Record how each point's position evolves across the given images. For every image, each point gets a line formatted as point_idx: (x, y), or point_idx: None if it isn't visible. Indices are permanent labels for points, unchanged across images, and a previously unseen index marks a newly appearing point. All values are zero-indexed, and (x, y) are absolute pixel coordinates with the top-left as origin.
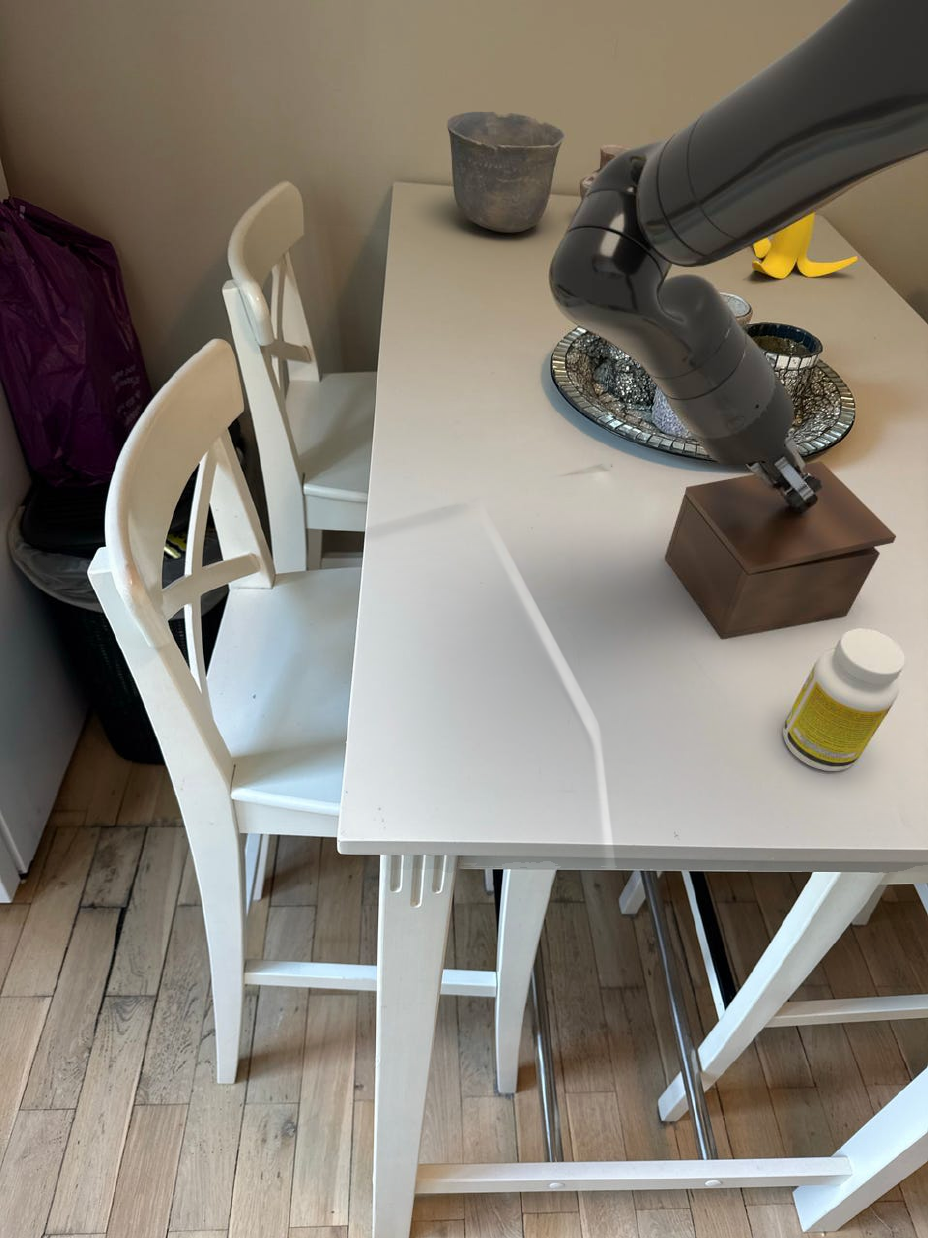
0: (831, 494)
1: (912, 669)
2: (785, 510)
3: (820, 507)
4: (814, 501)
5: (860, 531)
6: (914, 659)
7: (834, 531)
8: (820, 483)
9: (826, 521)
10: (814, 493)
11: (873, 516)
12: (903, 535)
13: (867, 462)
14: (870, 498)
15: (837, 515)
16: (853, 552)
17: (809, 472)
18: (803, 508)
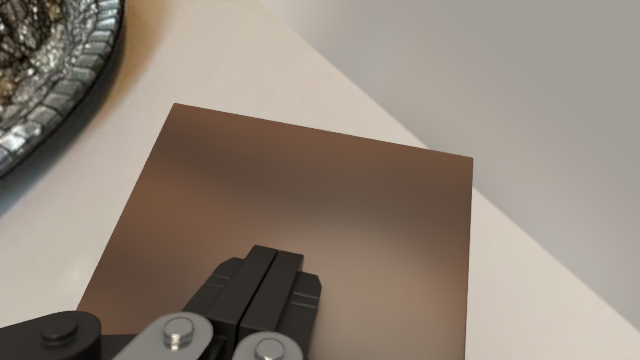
0: (279, 173)
1: (539, 254)
2: None
3: (303, 235)
4: (320, 291)
5: (426, 217)
6: (520, 235)
7: (400, 279)
8: (231, 163)
9: (356, 265)
10: (297, 271)
11: (392, 149)
12: (306, 64)
13: (176, 2)
14: (229, 46)
15: (350, 221)
16: None
17: (184, 155)
18: (313, 330)
